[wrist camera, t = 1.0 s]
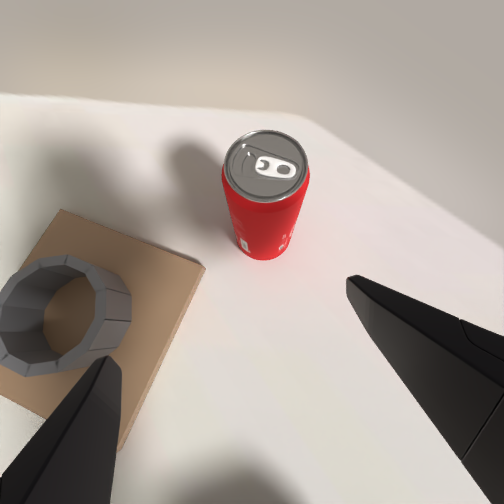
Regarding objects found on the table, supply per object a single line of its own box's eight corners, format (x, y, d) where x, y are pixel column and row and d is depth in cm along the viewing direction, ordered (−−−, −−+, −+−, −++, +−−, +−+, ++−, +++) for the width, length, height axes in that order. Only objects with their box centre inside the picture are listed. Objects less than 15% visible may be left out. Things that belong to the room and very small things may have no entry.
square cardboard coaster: (205, 269, 25) (192, 253, 20) (121, 448, 21) (78, 485, 16) (68, 214, 27) (26, 187, 22) (-33, 366, 23) (-113, 376, 18)
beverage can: (245, 209, 27) (234, 118, 15) (294, 221, 26) (321, 135, 15) (230, 255, 25) (207, 193, 14) (282, 269, 25) (301, 215, 13)
